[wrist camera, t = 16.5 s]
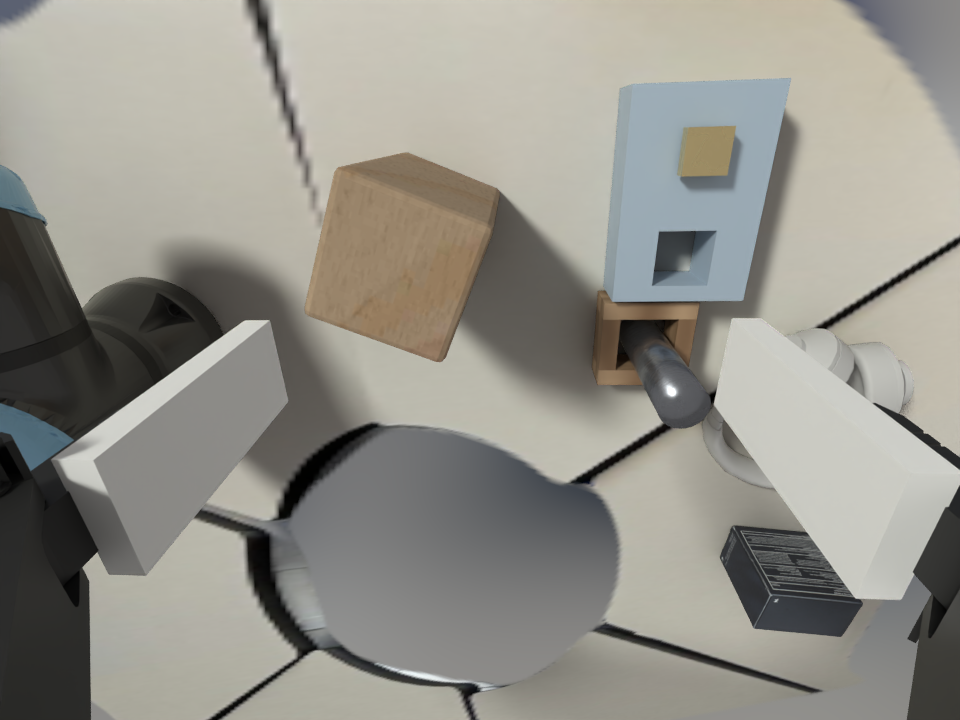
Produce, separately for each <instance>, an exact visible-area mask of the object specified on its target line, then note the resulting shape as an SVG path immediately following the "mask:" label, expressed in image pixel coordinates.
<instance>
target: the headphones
mask: <svg viewBox="0 0 960 720" xmlns="http://www.w3.org/2000/svg"><path fill="white" fill-rule="evenodd" d="M785 337H786V338H787V339H789V340H790V341H791V342H793V343H794V344H795V345H797V346H798V347H799V348H801V349H802V350H803V351H804V352H806V353H807V354H808V355H810V356H811V357H812V358H814V359H815V360H816V361H818V362H819V363H820V364H821V365H823V366H824V367H825V368H827V369H828V370H829V371H831V372H832V373H833V374H835V375H836V376H837V377H839V378H840V379H841V380H842V381H844V382H845V383H846V384H848V385H849V386H850V387H852V388H853V389H854V390H856V391H857V392H858V393H859V394H861V395H862V396H863V397H865V398H866V399H867V400H869V401H870V402H871V403H877V404H879V405H881V406H883V407H885V408H888V409H890V410H892V411H894V412H896V413H898V414H899V412H900V410H901V407H902V405H905V404H906V403H907V402H908V401H910V399H911V397H912V394H913V389H914V380H913V375H912V372H911V370H910V368H909V366H908V365H907V364H906V363H905V362H903V361H902V360H898V359H897V357H896V355H895V354H894V353H893V351H892V350H891V349H890V348H889V347H888V346H886V345H885V344H883V343H881V342H872V343H861V344H852V345H846V344H845V343H844V342H843V341H841V340H840V339H839V338H838V337H837V336H836V335H834V334H833V333H831V332H829V331H828V330H826V329H816V328H813V329H808V330H803V331H800V332H797V333H795V334H793V335H787V336H785ZM723 421H724V418H723V417H722V415H721V414H720V412H719V411H718V410H717V408H716V407H715V406H713V408H711V410H710V411H709V412H708V414H707V416H706V417H705V418H704V421H703V424H702V428H703V438H704V441H705V444H706V446H707V448H708V451H709V452H710V454H711V455H712V457H713V458H714V459H715V461H716V462H717V463H718V464H719V465H720V466H721V467H722V468H723V470H724V471H725V472H727V473H729V474H731V475H733V476H735V477H736V478H738V479H740V480H742V481H744V482H747V483H749V484H752V485H756V486H759V487H765V488H772V489H775V488H774V486H773V485H772V484H771V482H770V481H769V480H768V478H767V477H766V475H765V474H764V473H763V471H762V470H761V469H760V467H759V466H758V465H757V463H756V462H755V460H754V459H751V458H748V457H745V456H743V455H741V454H739V453H737V452H735V451H733V450H732V449H731V448H729V447H728V446H727V445H726V443H725V441H724V438H723V435H722V424H723Z"/></svg>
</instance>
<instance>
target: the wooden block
mask: <svg viewBox="0 0 960 720" xmlns="http://www.w3.org/2000/svg"><path fill="white" fill-rule="evenodd" d="M499 197H500V191H499V190H498V189H497V188H494V187H492V186H489V185H487V184H484V183H482V182H479V181H477V180H475V179H472V178H470V177H467V176H465V175H462V174H460V173H457V172H455V171H452V170H450V169H447V168H445V167H442V166H440V165H437V164H435V163H432V162H430V161H427V160H425V159H422V158H420V157H417V156H415V155H412V154H410V153H400V154H396V155H391V156H387V157H382V158H378V159H373V160H369V161H364V162H360V163H355V164H351V165H346V166H342V167H338V168H337V170H336V171H335V172H334V177H333V181H332V186H331V190H330V195H329V199H328V204H327V208H326V213H325V217H324V222H323V226H322V231H321V236H320V240H319V245H318V249H317V254H316V258H315V263H314V267H313V272H312V276H311V281H310V285H309V290H308V294H307V299H306V303H305V314H307V315H308V316H310V317H313V318H316V319H319V320H321V321H324V322H327V323H330V324H332V325H335V326H338V327H341V328H344V329H346V330H349V331H352V332H355V333H357V334H360V335H363V336H366V337H369V338H371V339H374V340H377V341H380V342H383V343H385V344H388V345H391V346H394V347H396V348H399V349H402V350H405V351H408V352H410V353H413V354H416V355H419V356H422V357H424V358H427V359H430V360H433V361H435V362H442V361H443V360H444V359H445V358H446V355H447V353H448V350H449V347H450V345H451V342H452V340H453V337H454V334H455V332H456V329H457V326H458V324H459V321H460V318H461V316H462V313H463V311H464V308H465V305H466V303H467V300H468V297H469V295H470V292H471V290H472V287H473V284H474V282H475V279H476V276H477V274H478V271H479V269H480V266H481V263H482V261H483V258H484V255H485V253H486V250H487V247H488V245H489V242H490V240H491V237H492V234H493V229H494V224H495V218H496V213H497V208H498V202H499Z"/></svg>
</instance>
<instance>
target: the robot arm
mask: <svg viewBox="0 0 960 720" xmlns="http://www.w3.org/2000/svg"><path fill="white" fill-rule="evenodd" d="M45 226H47V221H46V219H45V217H43V216H42V215H41V214H40V213H39V212H38V210H37V208H36V206H35V204H34V202H33V200H32V198H31V196H30V194H29V192H28V190H27V188H26V186H25V184H24V182H23V181H22V180H21V178H20V177H19V176H18V175H17V174H16V173H14V172H13V171H11V170H9V169H8V168H6V167H4V166H2V165H0V720H91V689H90V610H89V580H88V578H87V576H86V574H85V572H84V570H83V568H82V567H83V566H84V565H85V564H86V563H87V562H88V561H89V560H90V559H91V558H92V557H93V556H94V555H95V554H96V553H97V552H98V554H99V556H100V558H101V560H102V562H103V564H104V566H105V568H106V570H107V572H108V574H110V575H141V576H146V575H147V574H148V573H149V571H150V570H151V569H152V568H153V567H154V565H155V564H156V563H157V562H158V560H159V559H160V558H161V557H162V556H163V554H164V553H165V552H166V551H167V549H168V548H169V547H170V546H171V545H172V543H173V542H174V541H175V540H176V538H177V537H178V536H179V535H180V534H181V532H182V531H183V530H184V529H185V528H186V526H187V525H188V524H189V523H190V521H191V520H192V519H193V518H194V517H195V515H196V514H197V513H198V512H199V510H200V509H201V508H202V507H203V506H204V504H205V503H206V502H207V501H208V499H209V498H210V497H211V496H212V495H213V493H214V492H215V491H216V490H217V488H218V487H219V486H220V485H221V484H222V482H223V481H224V480H225V479H226V477H227V476H228V475H229V474H230V473H231V471H232V470H233V469H234V468H235V466H236V465H237V464H238V463H239V462H240V460H241V459H242V458H243V457H244V455H245V454H246V453H247V452H248V451H249V449H250V448H251V447H252V446H253V444H254V443H255V442H256V441H257V440H258V438H259V437H260V436H261V435H262V433H263V432H264V431H265V430H266V429H267V427H268V426H269V425H270V424H271V422H272V421H273V420H274V419H275V418H276V416H277V415H278V414H279V413H280V411H281V410H282V409H283V408H284V407H285V405H286V404H287V403H288V402H289V401H288V397H287V392H286V388H285V384H284V379H283V375H282V371H281V366H280V362H279V357H278V353H277V349H276V344H275V340H274V336H273V331H272V327H271V323H270V320H245V321H243V322H242V323H240V324H239V325H238V326H236V327H235V328H233V329H232V330H231V331H229V332H228V333H226V334H225V335H224V336H223V334H222V331H221V329H220V327H219V325H218V324H217V322H216V320H215V319H214V317H213V316H212V315H211V313H210V312H209V311H208V310H207V309H206V308H205V306H204V305H203V304H201V303H200V302H199V301H198V300H197V299H196V298H195V297H193V296H192V295H191V294H189V293H188V292H186V291H185V290H183V289H181V288H179V287H177V286H175V285H173V284H171V283H168V282H165V281H162V280H158V279H153V278H145V277H138V278H130V279H126V280H123V281H120V282H118V283H115V284H112V285H110V286H108V287H105V288H104V289H102V290H100V291H99V292H98V293H96V294H95V295H94V296H93V297H92V298H91V299H90V300H89V301H88V303H87V304H86V305H85V306H84V307H83V308H81V306H80V303H79V301H78V299H77V297H76V294H75V292H74V290H73V288H72V285H71V283H70V281H69V279H68V277H67V274H66V272H65V270H64V268H63V265H62V263H61V261H60V259H59V256H58V254H57V252H56V250H55V248H54V245H53V243H52V241H51V239H50V236H49V234H48V232H47V230H46V227H45ZM714 406H715V407H716V408H717V410H718V411H719V412H720V414H721V415H722V417H723V418H724V419H725V421H726V422H727V423H728V425H729V426H730V427H731V429H732V430H733V432H734V433H735V434H736V436H737V437H738V438H739V440H740V441H741V443H742V444H743V445H744V447H745V448H746V449H747V451H748V452H749V454H750V455H751V456H752V458H753V459H754V460H755V462H756V463H757V465H758V466H759V467H760V469H761V470H762V471H763V473H764V474H765V475H766V477H767V478H768V480H769V481H770V482H771V484H772V485H773V486H774V488H775V489H776V491H777V492H778V493H779V495H780V496H781V497H782V499H783V500H784V502H785V503H786V504H787V506H788V507H789V508H790V510H791V511H792V512H793V514H794V515H795V517H796V518H797V519H798V521H799V522H800V523H801V525H802V526H803V528H804V529H805V530H806V532H807V533H808V534H809V536H810V537H811V539H812V540H813V541H814V543H815V544H816V545H817V547H818V548H819V549H820V551H821V552H822V554H823V555H824V556H825V558H826V559H827V560H828V562H829V563H830V565H831V566H832V567H833V569H834V570H835V571H836V573H837V574H838V576H839V577H840V578H841V580H842V581H843V582H844V584H845V585H846V586H847V588H848V589H849V591H850V592H851V593H852V595H853V596H854V597H855V599H883V600H902V598H903V596H904V594H905V592H906V590H907V588H908V586H909V584H910V582H911V580H912V578H913V576H914V574H915V575H916V577H918V579H919V580H920V581H921V582H922V583H923V584H924V585H925V587H926V588H927V589H928V590H929V591H930V592H931V593H932V594H931V596H930V598H929V600H928V602H927V604H926V605H925V607H924V609H923V611H922V613H921V615H920V617H919V619H918V620H917V622H916V624H915V626H914V628H913V629H912V631H911V633H910V635H909V637H908V639H909V640H911V641H913V642H915V643H916V642H917V641H918V639H919V643H918V649H917V656H916V662H915V670H914V676H913V682H912V689H911V696H910V702H909V709H908V716H907V720H960V457H958V456H957V455H956V454H954V453H953V452H952V451H950V450H949V449H948V448H946V447H941V445H940V444H941V443H939V442H938V441H937V440H935V439H934V438H933V437H931V436H930V435H929V434H924V433H923V430H922V429H920V428H919V427H918V426H916V425H915V424H914V423H912V422H911V421H910V420H908V419H907V418H905V417H904V416H903V415H900V414H898V413H896V412H894V411H892V410H890V409H888V408H885V407H883V406H881V405H879V404H877V403H871V402H870V401H869V400H867V399H866V398H865V397H863V396H862V395H861V394H859V393H858V392H857V391H856V390H854V389H853V388H852V387H850V386H849V385H848V384H846V383H845V382H844V381H842V380H841V379H840V378H839V377H837V376H836V375H835V374H833V373H832V372H831V371H829V370H828V369H827V368H825V367H824V366H823V365H821V364H820V363H819V362H818V361H816V360H815V359H814V358H812V357H811V356H810V355H808V354H807V353H806V352H804V351H803V350H802V349H801V348H799V347H798V346H797V345H795V344H794V343H793V342H791V341H790V340H789V339H787V338H786V337H785V336H784V335H782V334H781V333H780V332H778V331H777V330H776V329H774V328H773V327H772V326H770V325H769V324H768V323H766V322H765V321H764V320H763V319H761V318H732V320H731V325H730V330H729V335H728V339H727V344H726V349H725V354H724V358H723V363H722V368H721V373H720V377H719V382H718V387H717V392H716V396H715V401H714Z"/></svg>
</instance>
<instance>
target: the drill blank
mask: <svg viewBox="0 0 960 720" xmlns="http://www.w3.org/2000/svg"><path fill="white" fill-rule="evenodd" d="M619 340H620V342H621V343H622V345H623V347H624V349H625V351H626V353H627V355H628V357H629V359H630V361H631V363H632V365H633V367H634V369H635V371H636V373H637V374H638V376H639V378H640V380H641V382H642V384H643V386H644V388H645V390H646V392H647V394H648V396H649V398H650V400H651V402H652V404H653V405H654V407H655V409H656V411H657V413H658V415H659V417H660V419H661V420H662V421H663V422H664V423H665V424H666V425H668V426H670V427H673V428H688V427H692V426H694V425H696V424H698V423H700V422H701V421H702V420H703V419H704V418H705V417H706V416H707V414H708V412H709V410H710V406H711V400H710V397H709V395H708V393H707V392H706V391H705V389H704V388H703V386H702V385H701V384H700V382H699V381H698V380H697V378H696V377H695V376H694V374H693V373H692V372H691V370H690V369H689V368H688V366H687V365H686V364H685V362H684V361H683V360H682V358H681V357H680V356H679V354H678V353H677V352H676V350H675V349H674V348H673V346H672V345H671V344H670V342H669V341H668V340H667V338H666V337H665V336H664V334H663V333H662V332H661V330H660V329H659V328H658V326H657V325H656V324H655V322H654V321H653V320H622V322H621V323H620V331H619Z"/></svg>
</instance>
